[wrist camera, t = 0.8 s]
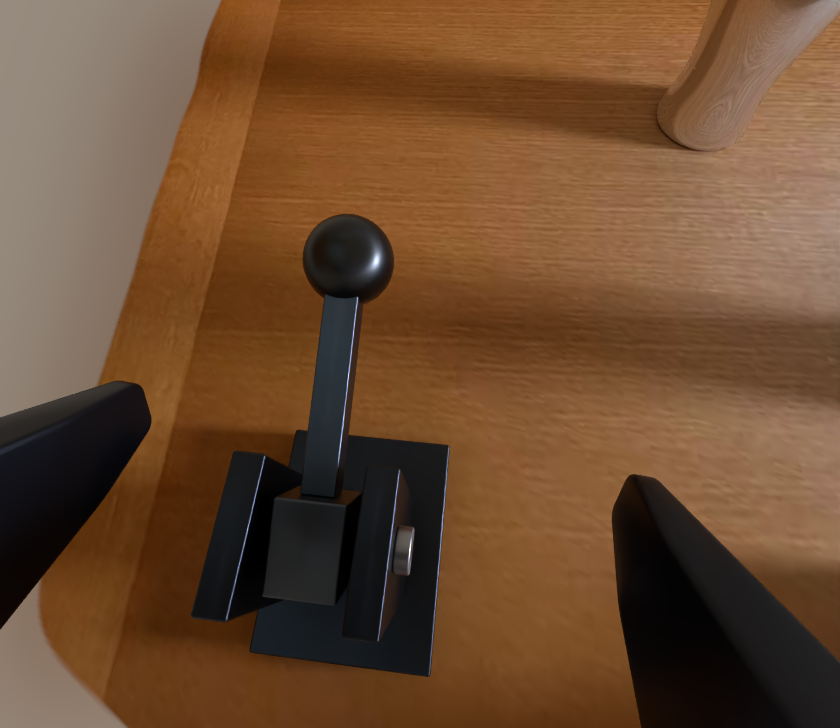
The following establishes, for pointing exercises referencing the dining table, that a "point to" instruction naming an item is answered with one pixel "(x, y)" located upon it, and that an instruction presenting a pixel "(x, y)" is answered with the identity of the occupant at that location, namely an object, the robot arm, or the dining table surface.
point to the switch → (328, 418)
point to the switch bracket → (371, 563)
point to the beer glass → (738, 67)
